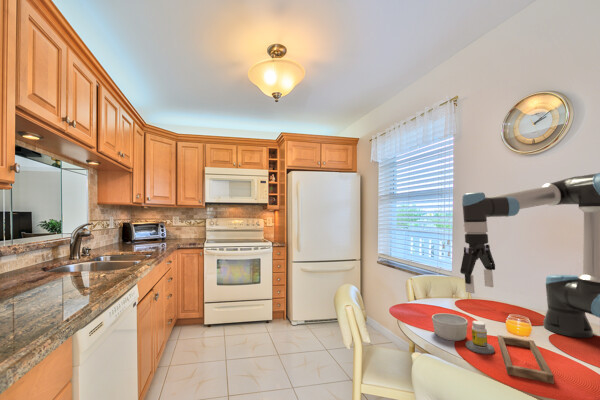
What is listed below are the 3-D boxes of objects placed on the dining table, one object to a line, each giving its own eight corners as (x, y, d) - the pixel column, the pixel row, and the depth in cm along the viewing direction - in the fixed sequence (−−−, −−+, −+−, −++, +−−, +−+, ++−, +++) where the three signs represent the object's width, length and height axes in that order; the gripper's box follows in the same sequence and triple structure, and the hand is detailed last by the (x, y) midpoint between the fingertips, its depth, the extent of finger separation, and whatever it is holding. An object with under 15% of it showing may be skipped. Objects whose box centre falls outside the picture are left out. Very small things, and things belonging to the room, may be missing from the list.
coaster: (493, 345, 107) (493, 343, 107) (495, 356, 99) (495, 353, 99) (465, 341, 111) (465, 338, 111) (466, 350, 103) (465, 348, 103)
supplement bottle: (471, 341, 108) (470, 319, 109) (486, 344, 106) (485, 321, 107) (473, 347, 104) (472, 323, 104) (488, 349, 102) (487, 325, 102)
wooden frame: (533, 347, 105) (533, 340, 105) (554, 383, 82) (553, 375, 83) (497, 341, 110) (497, 335, 111) (507, 374, 88) (507, 366, 88)
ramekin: (425, 332, 120) (424, 315, 121) (447, 327, 126) (446, 311, 126) (453, 345, 108) (452, 326, 109) (476, 338, 113) (475, 321, 114)
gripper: (482, 230, 118) (486, 282, 117) (447, 234, 105) (451, 292, 104) (502, 231, 111) (507, 286, 110) (467, 235, 99) (472, 297, 97)
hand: (479, 289), depth 107 cm, fingers open, 13 cm apart
